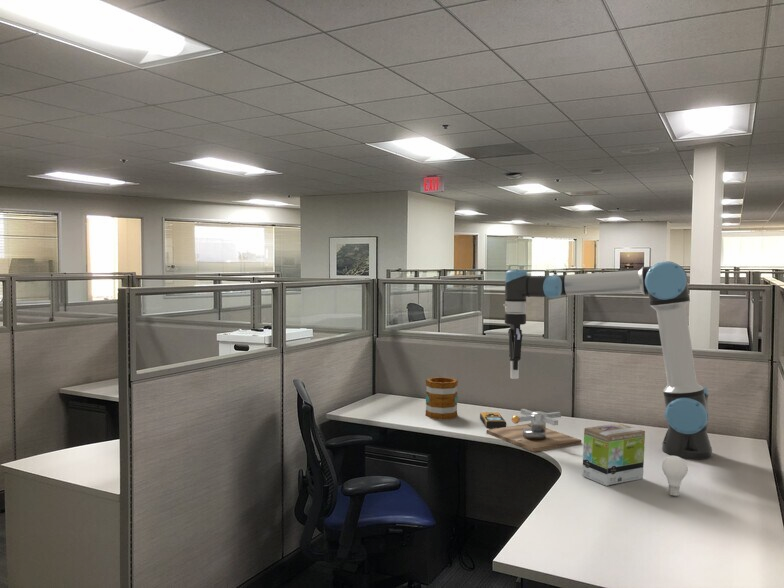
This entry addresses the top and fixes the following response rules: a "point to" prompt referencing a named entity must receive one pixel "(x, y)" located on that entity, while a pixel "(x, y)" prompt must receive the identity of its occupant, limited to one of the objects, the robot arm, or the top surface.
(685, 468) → the lightbulb
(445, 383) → the mug
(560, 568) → the top surface
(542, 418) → the capstan
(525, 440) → the wooden board
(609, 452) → the tea box
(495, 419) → the electronic device
